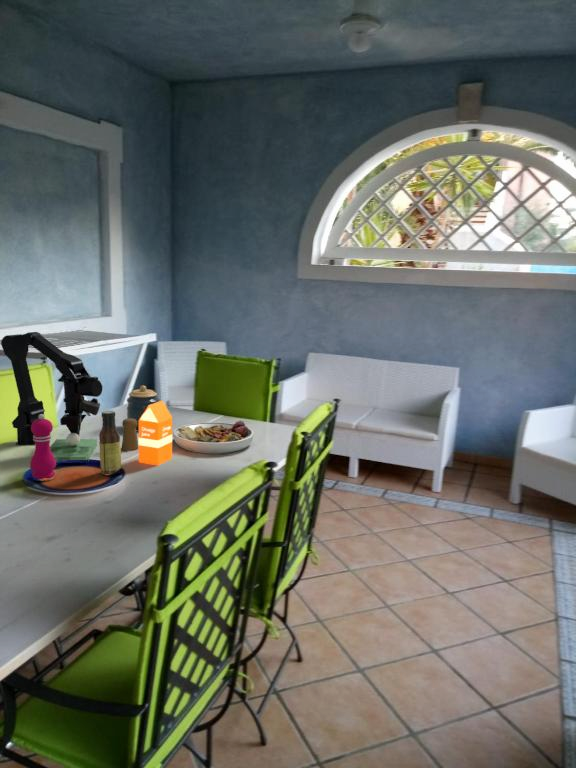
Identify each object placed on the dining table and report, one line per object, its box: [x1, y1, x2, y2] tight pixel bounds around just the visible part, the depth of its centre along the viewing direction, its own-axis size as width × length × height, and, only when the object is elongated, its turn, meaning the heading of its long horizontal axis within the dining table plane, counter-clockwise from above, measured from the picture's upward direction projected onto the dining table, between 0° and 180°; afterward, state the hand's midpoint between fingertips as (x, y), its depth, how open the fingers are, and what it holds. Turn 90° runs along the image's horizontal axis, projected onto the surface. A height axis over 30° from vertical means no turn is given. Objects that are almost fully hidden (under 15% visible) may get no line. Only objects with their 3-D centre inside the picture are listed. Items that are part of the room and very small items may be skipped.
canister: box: [126, 385, 160, 430], centre depth 234 cm, size 13×13×18 cm
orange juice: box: [138, 400, 173, 466], centre depth 193 cm, size 8×9×20 cm
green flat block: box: [50, 438, 98, 461], centre depth 196 cm, size 21×14×2 cm, turn 9°
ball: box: [65, 432, 81, 446], centre depth 198 cm, size 4×4×4 cm
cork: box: [120, 418, 139, 452], centre depth 206 cm, size 6×6×11 cm
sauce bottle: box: [98, 410, 122, 475], centre depth 178 cm, size 6×6×20 cm
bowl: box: [172, 420, 254, 455], centre depth 216 cm, size 30×30×8 cm
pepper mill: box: [29, 414, 57, 479], centre depth 171 cm, size 7×7×20 cm
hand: (76, 437), depth 202 cm, fingers open, 2 cm apart
